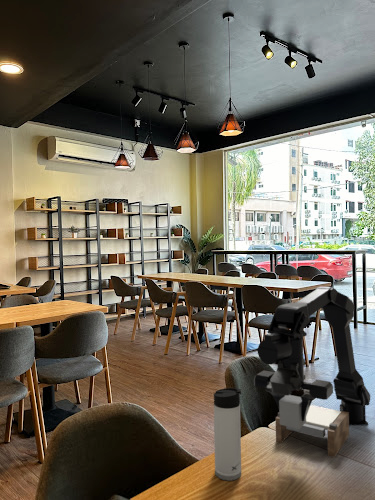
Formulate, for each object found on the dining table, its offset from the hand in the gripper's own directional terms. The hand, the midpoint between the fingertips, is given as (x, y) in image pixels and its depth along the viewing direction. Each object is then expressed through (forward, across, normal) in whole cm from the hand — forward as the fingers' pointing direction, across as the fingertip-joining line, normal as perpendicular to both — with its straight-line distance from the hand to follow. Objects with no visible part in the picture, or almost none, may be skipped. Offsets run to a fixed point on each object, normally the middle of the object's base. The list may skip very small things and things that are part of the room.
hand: (292, 418), depth 100 cm
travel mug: (+11, -11, -14) cm, 21 cm away
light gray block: (+1, 0, 0) cm, 1 cm away
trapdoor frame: (+11, 0, +15) cm, 18 cm away
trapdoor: (+7, 0, +15) cm, 16 cm away
